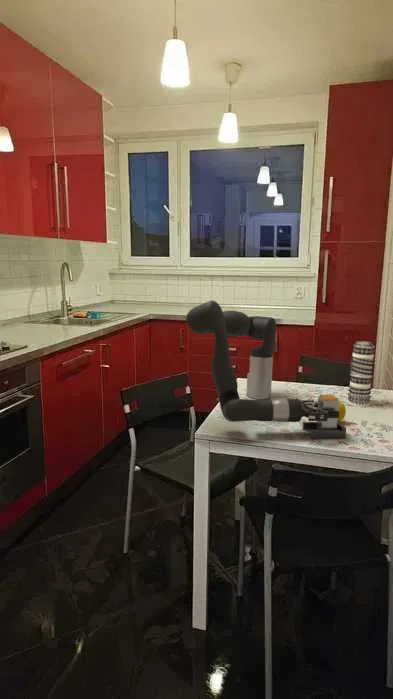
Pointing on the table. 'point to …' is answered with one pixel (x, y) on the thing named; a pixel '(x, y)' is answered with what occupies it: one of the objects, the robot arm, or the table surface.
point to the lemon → (341, 411)
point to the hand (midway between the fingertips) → (333, 410)
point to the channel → (325, 431)
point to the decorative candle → (361, 374)
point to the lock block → (328, 405)
